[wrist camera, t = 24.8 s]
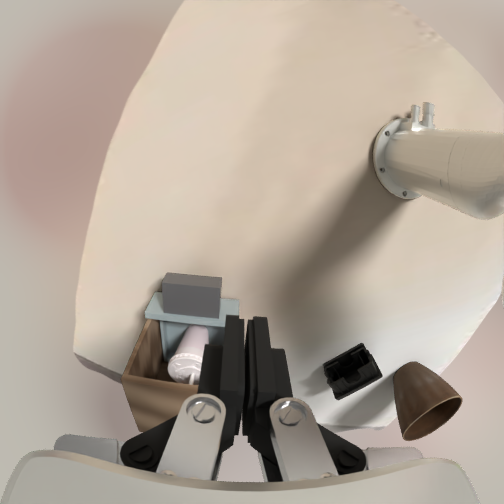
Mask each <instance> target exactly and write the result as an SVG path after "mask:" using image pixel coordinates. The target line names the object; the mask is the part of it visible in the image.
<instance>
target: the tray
mask: <svg viewBox="0 0 504 504" xmlns="http://www.w3.org/2000/svg"><path fill="white" fill-rule="evenodd" d="M221 288H222V278H220V277H209V276H198V275H187V274H177V273H167V274H166V275H165V277H164V279H163V281H162V292H155V293H154V295H153V297H152V299H151V301H150V303H149V305H148V307H147V309H146V311H145V318H149V319H156V320H160V328H161V338H162V347H163V355H164V361H168V362H169V360H170V359H171V358H172V357H173V356H174V355H175V352H176V351H177V348H178V346H179V344H180V342H181V340H182V338H183V336H184V334H185V332H186V330H187V328H188V326H189V325H191V324H198V325H204V326H205V327H206V328H207V330H208V334H209V344H212V345H223V344H224V332H225V320H226V314H227V315H239V300H235V299H223V298H221Z"/></svg>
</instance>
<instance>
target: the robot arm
mask: <svg viewBox="0 0 504 504" xmlns="http://www.w3.org/2000/svg"><path fill="white" fill-rule="evenodd" d="M434 112H435V105H434V104H432V103H428V102H424V103H423V120H422V121H420V122H419V115H420V107H419V106H417V105H411V119H409V118H400V119H395V120H393V121H391V122H389V123H388V124H386V125H385V126H384V127H383V128H382V129H381V131H380V132H379V134H378V136H377V138H376V141H375V144H374V149H373V163H374V168H375V171H376V174H377V177H378V179H379V180H380V182H381V184H382V185H383V186H384V187H385V189H387V190H388V191H389V192H390V193H392V194H394V195H395V196H398V197H400V198H404V199H414V198H418V197H420V196H422V195H423V196H425V197H428V198H430V199H433V200H435V201H437V202H440V203H442V204H445V205H447V206H449V207H451V208H454V209H456V210H458V211H460V212H463V213H465V214H467V215H469V216H471V217H474V218H476V219H481V220H489V219H493V218H495V217H498V216H500V215H501V214H503V213H504V133H495V132H483V131H470V130H456V129H435V125H434V124H433V118H434ZM385 133H386V135H385ZM380 168H381V170H380ZM502 303H503V307H504V276H503V283H502ZM241 414H242V425H243V426H242V427H243V428H242V433H243V436H248V443H250V445H251V446H252V447H253V448H254V449H255V450H257V451H258V457H259V462H260V466H261V469H262V474H263V478H264V482H224V481H217V478H218V474H219V469H220V465H221V461H222V457H223V452H224V451H225V450H227V449H228V448H230V447H231V446H232V445H233V442H234V435H238V433H239V427H240V421H241ZM0 504H480V502H479V499H478V497H477V494H476V492H475V490H474V487H473V485H472V483H471V481H470V480H469V478H468V476H467V475H466V473H465V471H464V470H463V469H462V467H460V465H459V464H457V463H456V462H454V461H452V460H448V459H442V458H423V456H422V453H421V452H420V451H419V450H418V449H416V448H414V447H396V448H367V449H366V450H361V449H360V448H359V447H357V446H356V445H354V444H352V443H350V442H348V441H347V440H345V439H343V438H341V437H340V436H338V435H336V434H334V433H333V432H331V431H329V430H328V429H326V428H324V427H323V426H321V425H319V424H318V423H317V422H316V420H315V418H314V415H313V413H312V410H311V409H310V407H309V406H308V405H307V404H306V403H305V402H304V401H302V400H299V399H296V398H293V394H292V389H291V383H290V377H289V372H288V366H287V361H286V355H285V351H284V349H274V348H271V345H270V337H269V329H268V321H267V317H253V320H248V324H247V332H246V340H245V349H244V319H239V315H227V314H226V320H225V332H224V344H223V345H212V344H205V346H204V352H203V358H202V365H201V371H200V377H199V384H198V391H197V394H195V395H193V396H190V397H189V398H187V399H186V400H185V401H184V403H183V404H182V407H181V409H180V412H179V414H178V415H176V416H174V417H172V418H171V419H169V420H167V421H165V422H163V423H161V424H159V425H157V426H155V427H153V428H151V429H149V430H147V431H145V432H143V433H141V434H139V435H137V436H135V437H133V438H131V439H129V440H128V441H126V442H120V441H117V439H106V438H95V437H86V436H78V435H71V434H70V435H63V436H61V437H59V438H58V439H57V440H56V442H55V445H54V450H38V451H33V452H30V453H28V454H26V455H25V456H24V457H23V458H22V459H21V460H20V461H19V463H18V464H17V466H16V467H15V469H14V471H13V473H12V475H11V477H10V479H9V481H8V483H7V486H6V488H5V491H4V494H3V496H2V499H1V503H0Z"/></svg>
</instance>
